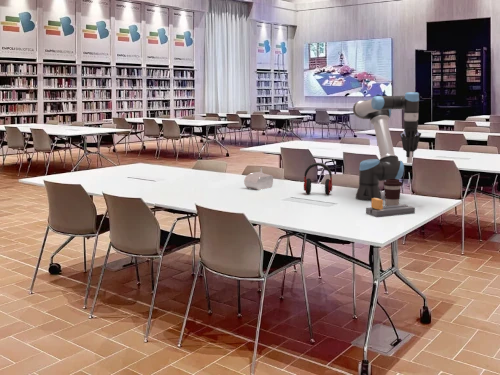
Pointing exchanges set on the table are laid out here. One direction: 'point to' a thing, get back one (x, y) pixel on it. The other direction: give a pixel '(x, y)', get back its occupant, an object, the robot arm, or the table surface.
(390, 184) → the coffee cup
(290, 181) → the table surface
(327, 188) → the headphones
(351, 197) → the table surface
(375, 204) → the fader tab
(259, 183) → the vr headset
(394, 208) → the slider console
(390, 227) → the table surface
